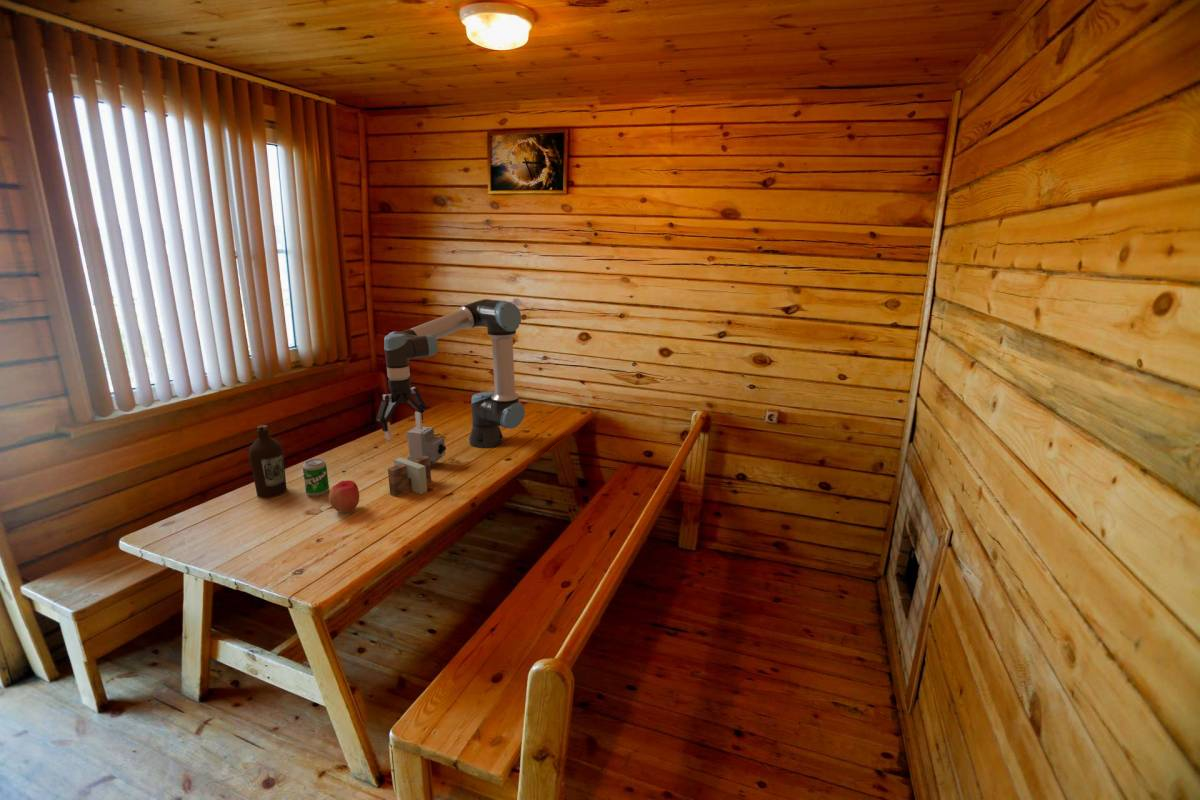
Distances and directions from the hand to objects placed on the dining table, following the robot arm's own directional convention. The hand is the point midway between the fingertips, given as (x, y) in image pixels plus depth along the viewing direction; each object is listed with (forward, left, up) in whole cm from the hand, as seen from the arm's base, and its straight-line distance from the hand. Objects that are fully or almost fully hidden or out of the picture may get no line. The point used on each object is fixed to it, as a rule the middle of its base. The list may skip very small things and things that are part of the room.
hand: (404, 434), depth 211 cm
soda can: (+30, -9, -20) cm, 37 cm away
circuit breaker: (-13, -13, -20) cm, 27 cm away
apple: (+24, +11, -20) cm, 33 cm away
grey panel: (0, +5, -20) cm, 20 cm away
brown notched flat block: (0, +5, -20) cm, 20 cm away
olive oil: (+43, -18, -20) cm, 51 cm away
